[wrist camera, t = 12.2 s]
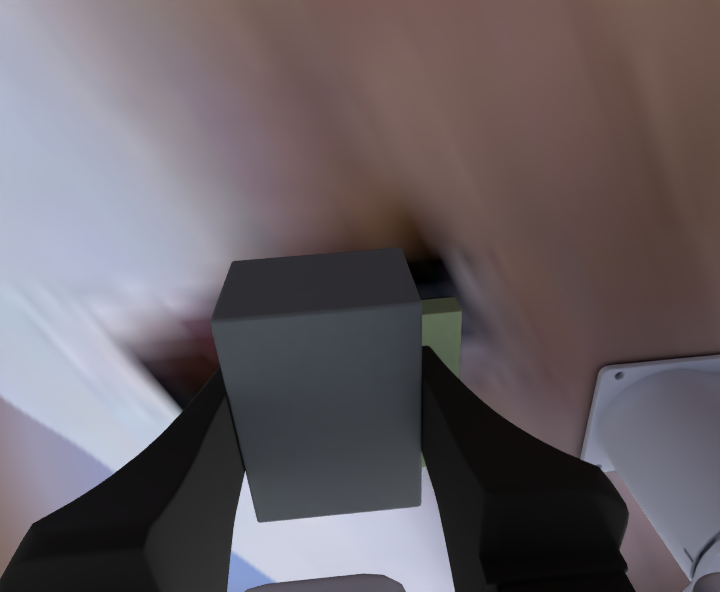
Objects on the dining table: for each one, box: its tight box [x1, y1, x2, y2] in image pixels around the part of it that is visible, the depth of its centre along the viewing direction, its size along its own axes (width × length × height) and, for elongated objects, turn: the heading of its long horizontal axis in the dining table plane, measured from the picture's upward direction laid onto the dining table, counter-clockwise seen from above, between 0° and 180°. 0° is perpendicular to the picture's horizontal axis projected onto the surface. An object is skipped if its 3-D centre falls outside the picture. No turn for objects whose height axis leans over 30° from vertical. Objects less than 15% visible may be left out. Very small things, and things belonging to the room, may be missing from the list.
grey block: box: [210, 248, 422, 523], centre depth 15 cm, size 5×7×3 cm
